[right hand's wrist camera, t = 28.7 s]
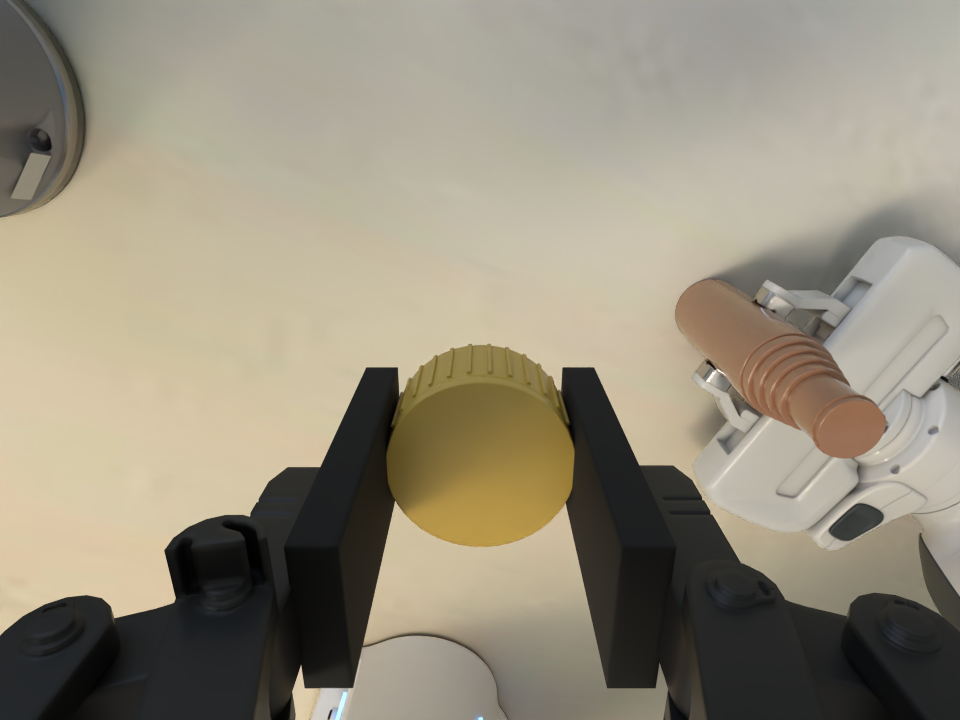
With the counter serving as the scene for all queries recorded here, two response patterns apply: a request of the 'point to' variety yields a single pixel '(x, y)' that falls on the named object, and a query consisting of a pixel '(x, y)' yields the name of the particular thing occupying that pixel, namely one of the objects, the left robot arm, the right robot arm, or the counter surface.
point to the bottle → (778, 368)
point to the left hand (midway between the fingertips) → (730, 332)
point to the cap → (480, 447)
